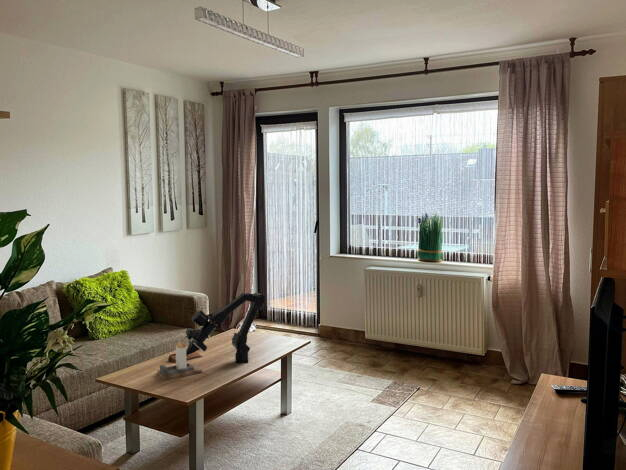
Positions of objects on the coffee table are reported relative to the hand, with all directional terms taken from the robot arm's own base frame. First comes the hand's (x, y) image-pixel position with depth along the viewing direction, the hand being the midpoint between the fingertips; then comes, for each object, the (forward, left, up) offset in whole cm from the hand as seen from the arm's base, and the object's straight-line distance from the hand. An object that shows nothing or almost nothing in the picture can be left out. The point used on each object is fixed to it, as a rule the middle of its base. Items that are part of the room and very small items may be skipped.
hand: (185, 355), depth 281 cm
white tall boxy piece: (+2, +1, -7) cm, 8 cm away
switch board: (+3, +1, -9) cm, 9 cm away
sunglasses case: (+3, -22, -9) cm, 24 cm away
